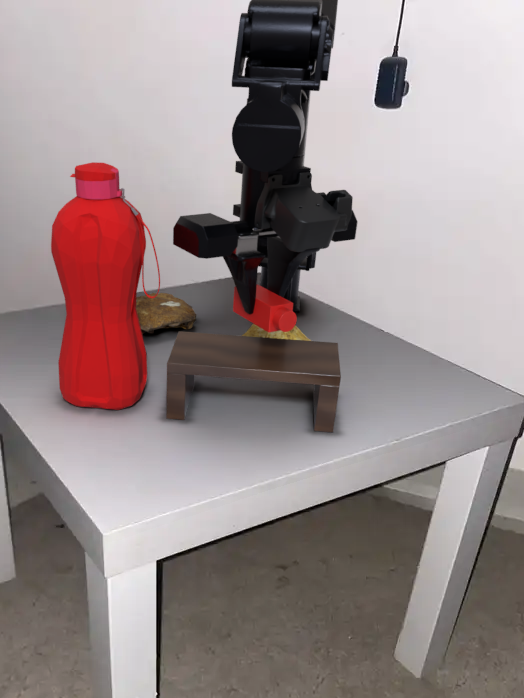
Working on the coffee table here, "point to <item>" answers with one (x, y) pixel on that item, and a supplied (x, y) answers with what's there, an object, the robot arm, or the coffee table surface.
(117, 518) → the coffee table surface
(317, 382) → the shelf
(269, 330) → the red square bottle
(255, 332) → the fossil
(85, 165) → the water bottle
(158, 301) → the decorative rock
